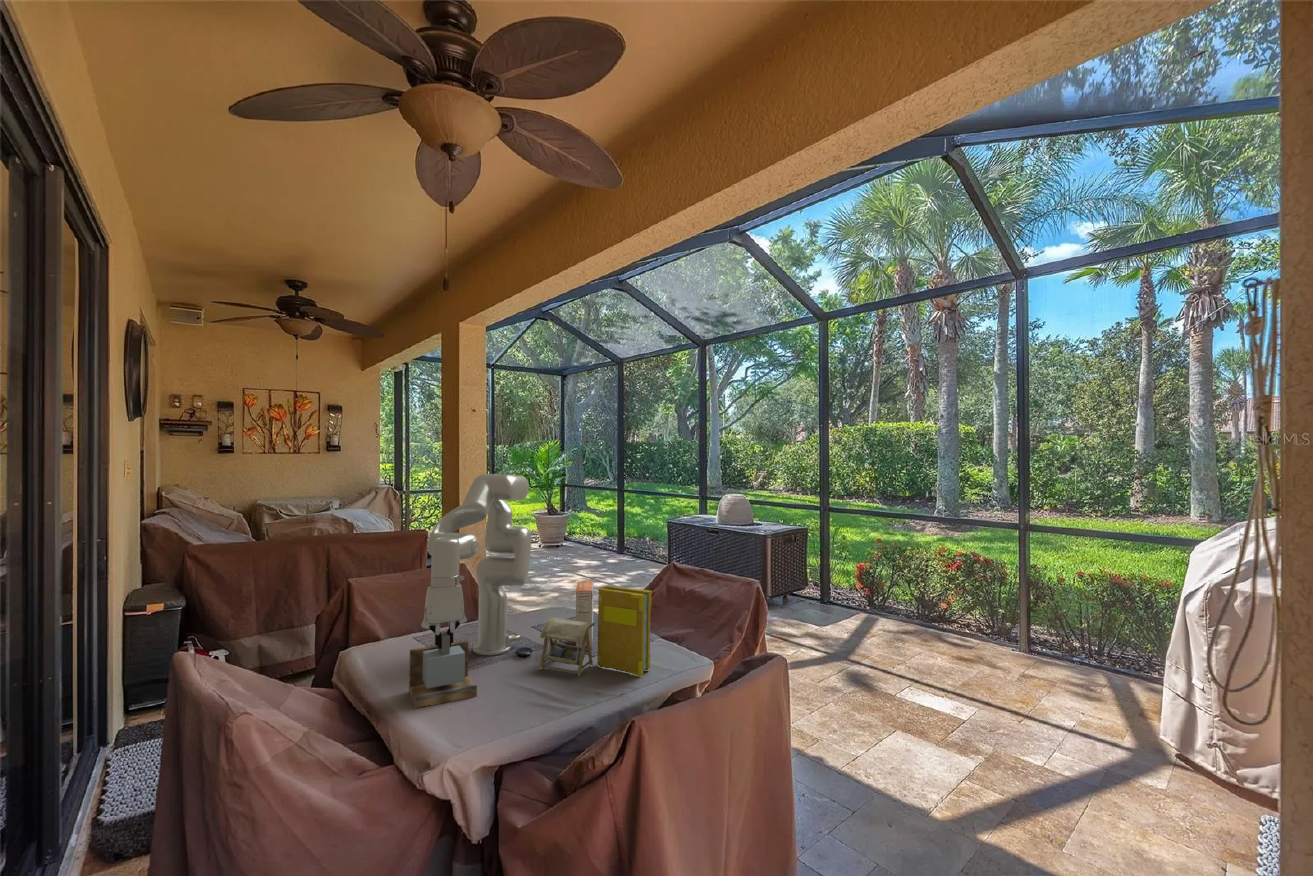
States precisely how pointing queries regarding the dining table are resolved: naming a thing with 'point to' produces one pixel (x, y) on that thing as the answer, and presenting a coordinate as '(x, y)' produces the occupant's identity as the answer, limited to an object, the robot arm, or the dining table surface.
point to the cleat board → (440, 693)
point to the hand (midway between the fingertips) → (444, 646)
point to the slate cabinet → (443, 664)
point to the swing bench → (563, 652)
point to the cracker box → (585, 606)
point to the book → (624, 629)
